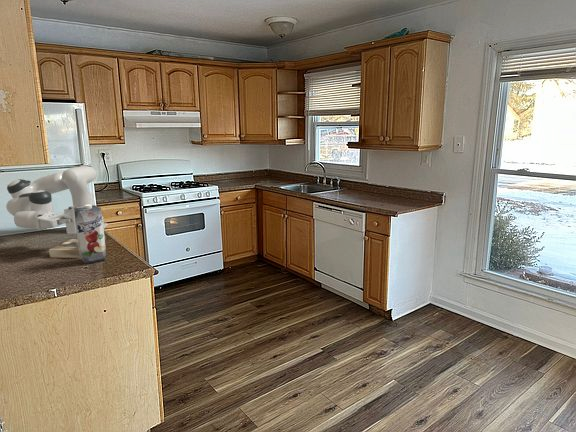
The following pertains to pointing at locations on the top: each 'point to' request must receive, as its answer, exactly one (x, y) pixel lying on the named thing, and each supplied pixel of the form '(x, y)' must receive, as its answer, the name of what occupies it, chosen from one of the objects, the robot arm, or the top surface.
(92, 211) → the juice carton
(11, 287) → the top surface
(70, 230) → the square capped bottle
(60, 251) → the birch stand
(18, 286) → the top surface
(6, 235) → the top surface
